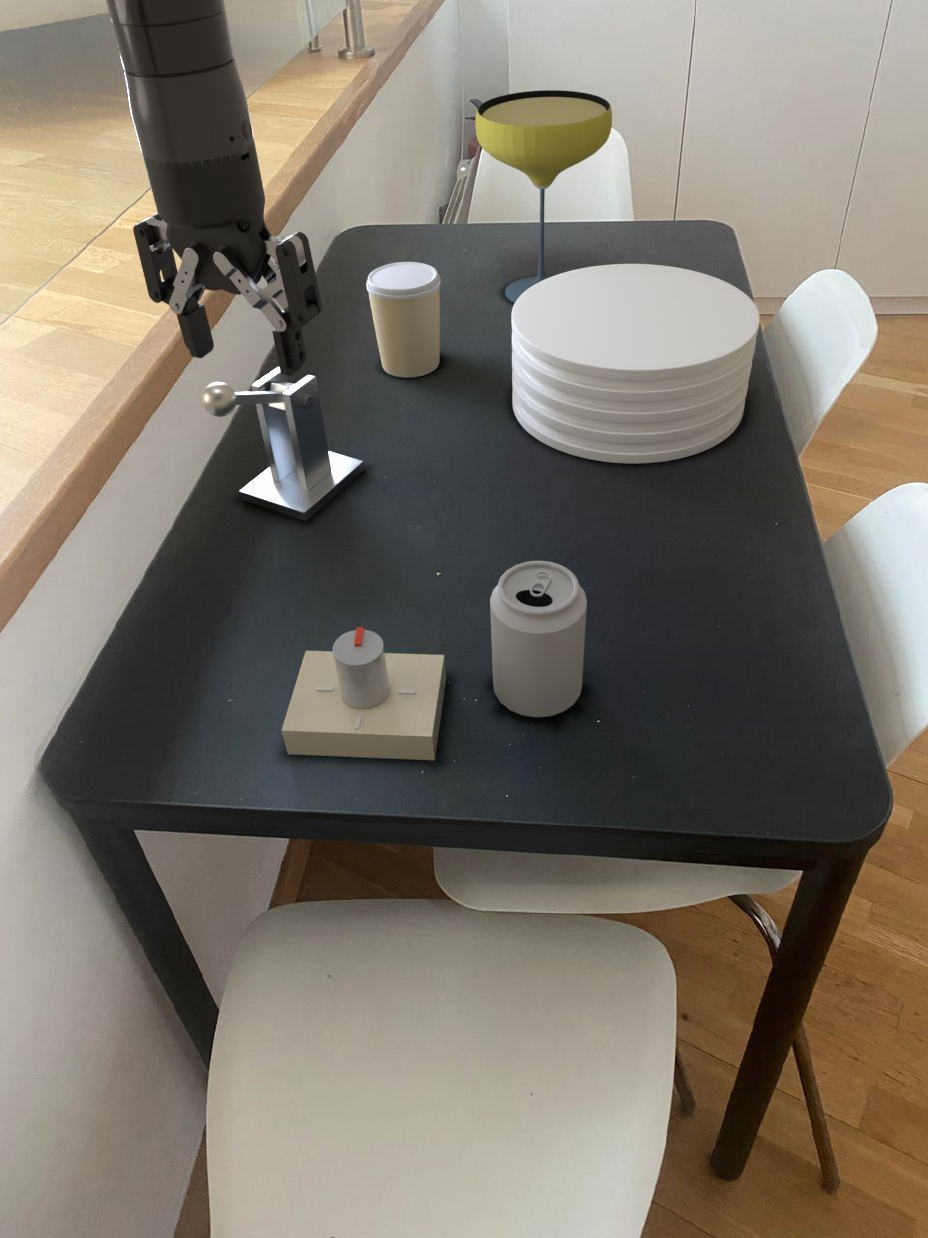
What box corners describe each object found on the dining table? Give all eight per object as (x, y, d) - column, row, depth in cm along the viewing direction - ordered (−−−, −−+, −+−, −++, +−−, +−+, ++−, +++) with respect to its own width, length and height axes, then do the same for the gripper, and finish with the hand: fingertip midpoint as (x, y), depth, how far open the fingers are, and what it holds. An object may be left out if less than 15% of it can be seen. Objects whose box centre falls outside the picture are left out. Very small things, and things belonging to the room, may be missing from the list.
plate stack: (656, 493, 99) (668, 397, 91) (465, 410, 113) (461, 321, 105) (786, 391, 113) (805, 301, 105) (602, 329, 128) (607, 246, 120)
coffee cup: (449, 347, 126) (444, 260, 118) (441, 381, 119) (435, 290, 111) (382, 347, 127) (372, 260, 119) (370, 380, 120) (359, 290, 112)
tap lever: (219, 420, 86) (221, 386, 84) (193, 413, 87) (195, 378, 86) (305, 414, 97) (308, 383, 95) (281, 407, 98) (284, 377, 97)
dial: (387, 708, 73) (380, 662, 70) (338, 709, 74) (328, 662, 70) (391, 672, 76) (385, 626, 73) (344, 673, 76) (335, 626, 73)
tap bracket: (306, 521, 98) (284, 415, 89) (241, 499, 101) (214, 395, 93) (364, 469, 104) (350, 366, 96) (302, 451, 108) (282, 349, 99)
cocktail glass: (457, 290, 140) (447, 107, 123) (548, 258, 147) (551, 82, 130) (533, 330, 129) (534, 135, 112) (627, 293, 136) (642, 106, 119)
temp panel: (287, 754, 74) (280, 729, 72) (311, 674, 81) (305, 648, 79) (434, 760, 73) (432, 735, 71) (446, 679, 80) (444, 653, 78)
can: (480, 710, 77) (474, 603, 69) (510, 651, 82) (509, 545, 74) (566, 734, 75) (571, 626, 66) (592, 671, 80) (599, 564, 71)
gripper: (77, 148, 62) (146, 369, 73) (253, 166, 57) (298, 400, 68) (148, 117, 67) (202, 329, 78) (316, 131, 62) (348, 354, 73)
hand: (247, 362), depth 73 cm, fingers open, 8 cm apart
